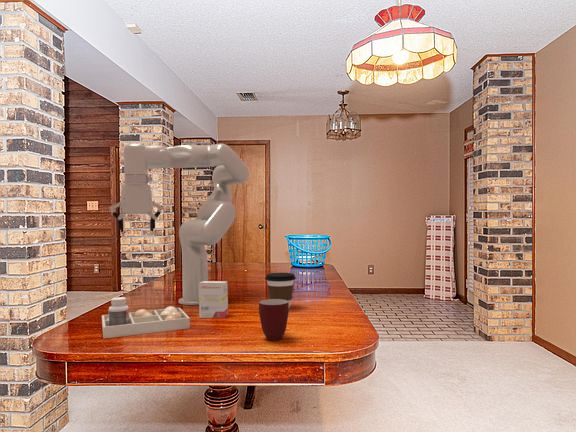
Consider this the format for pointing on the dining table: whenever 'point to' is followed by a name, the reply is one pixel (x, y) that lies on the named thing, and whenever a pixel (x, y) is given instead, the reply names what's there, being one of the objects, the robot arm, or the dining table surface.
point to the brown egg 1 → (142, 313)
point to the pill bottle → (118, 312)
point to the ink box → (213, 299)
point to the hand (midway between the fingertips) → (137, 231)
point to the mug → (273, 317)
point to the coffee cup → (280, 285)
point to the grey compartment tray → (145, 324)
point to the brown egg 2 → (173, 315)
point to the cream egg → (168, 310)
